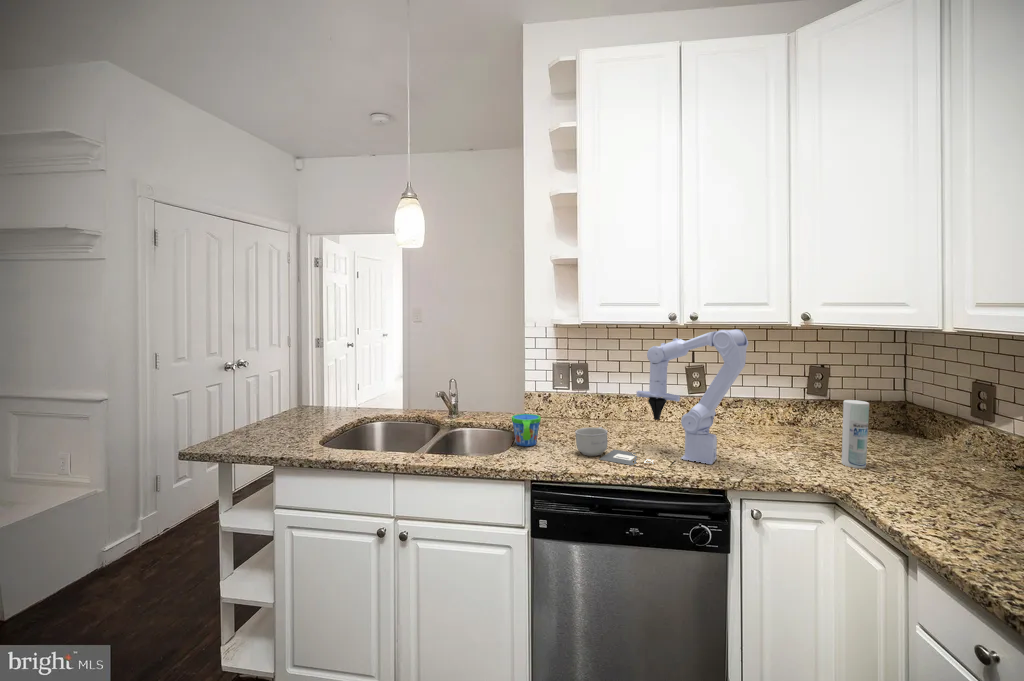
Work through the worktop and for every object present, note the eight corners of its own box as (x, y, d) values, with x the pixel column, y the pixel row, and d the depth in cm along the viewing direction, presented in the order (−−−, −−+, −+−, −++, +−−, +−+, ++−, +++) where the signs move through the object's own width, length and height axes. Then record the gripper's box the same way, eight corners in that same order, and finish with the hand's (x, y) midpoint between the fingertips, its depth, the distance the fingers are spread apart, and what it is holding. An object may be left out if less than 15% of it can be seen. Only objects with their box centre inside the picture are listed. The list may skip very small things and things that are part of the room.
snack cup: (514, 438, 179) (514, 411, 179) (541, 439, 178) (541, 412, 177) (509, 450, 164) (509, 421, 163) (539, 451, 163) (539, 421, 162)
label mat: (676, 460, 152) (676, 459, 152) (663, 471, 141) (663, 470, 141) (614, 449, 164) (614, 449, 164) (598, 459, 153) (598, 458, 153)
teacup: (594, 460, 152) (594, 436, 152) (568, 453, 160) (568, 429, 160) (619, 451, 162) (619, 428, 161) (593, 445, 170) (593, 423, 169)
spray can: (856, 462, 150) (859, 399, 149) (871, 468, 144) (874, 403, 143) (836, 462, 150) (838, 399, 149) (850, 468, 144) (853, 403, 143)
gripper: (633, 380, 164) (632, 418, 165) (676, 384, 156) (674, 424, 157) (640, 377, 170) (639, 414, 171) (682, 381, 162) (680, 420, 163)
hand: (656, 419), depth 165 cm, fingers closed
